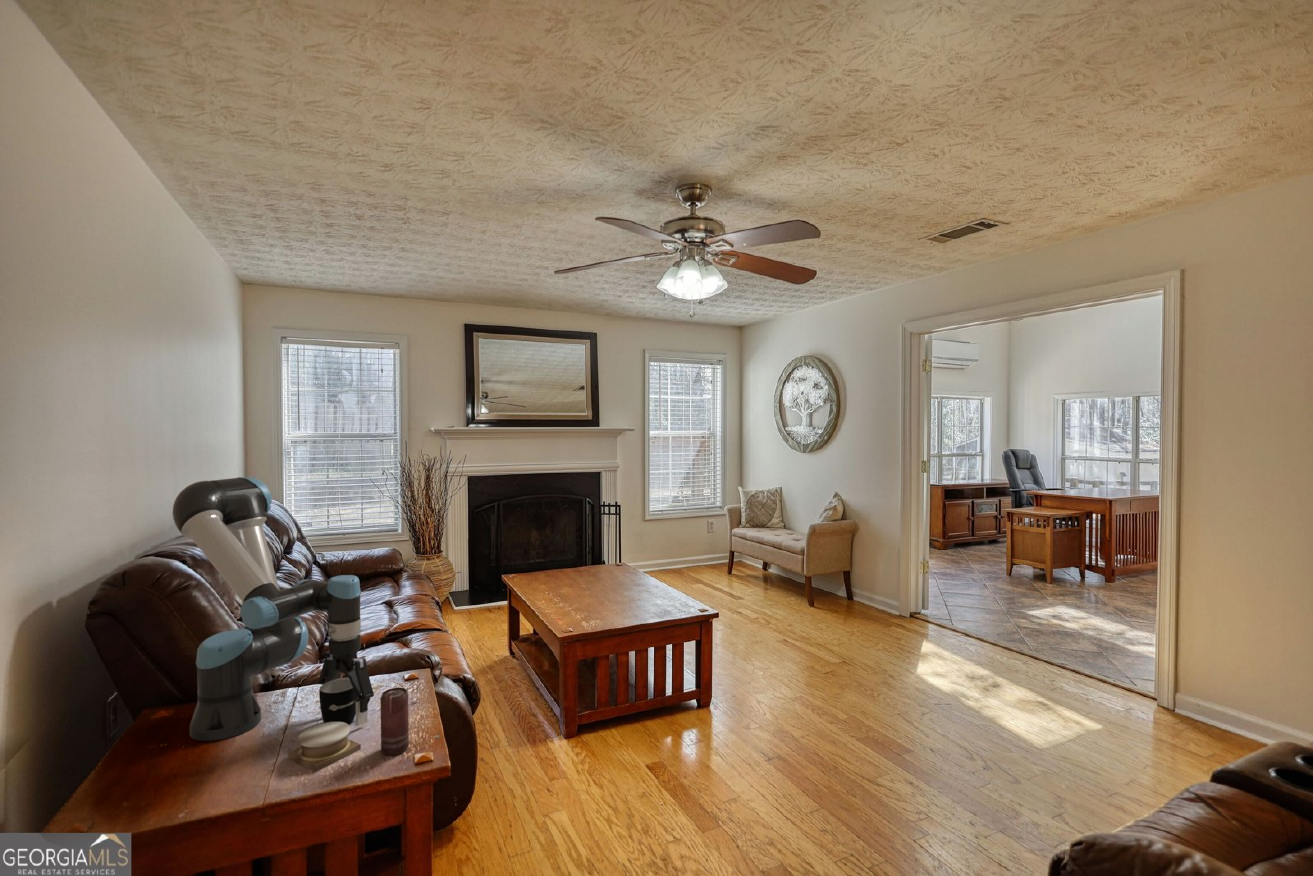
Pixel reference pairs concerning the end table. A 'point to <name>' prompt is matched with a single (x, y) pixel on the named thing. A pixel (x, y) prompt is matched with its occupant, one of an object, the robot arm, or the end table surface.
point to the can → (394, 721)
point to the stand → (324, 745)
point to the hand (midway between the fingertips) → (345, 717)
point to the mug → (338, 701)
